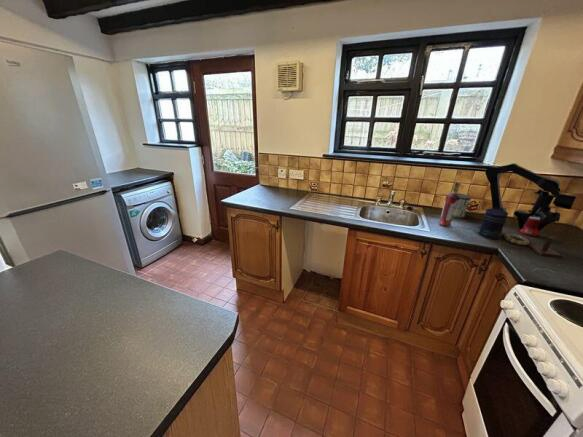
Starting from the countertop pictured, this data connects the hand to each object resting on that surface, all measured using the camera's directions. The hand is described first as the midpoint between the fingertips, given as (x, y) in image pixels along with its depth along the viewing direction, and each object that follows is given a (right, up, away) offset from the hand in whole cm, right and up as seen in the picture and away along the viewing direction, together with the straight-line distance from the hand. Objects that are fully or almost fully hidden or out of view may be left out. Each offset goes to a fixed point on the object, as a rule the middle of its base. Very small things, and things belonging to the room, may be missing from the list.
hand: (529, 229), depth 133 cm
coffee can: (-16, +9, +37) cm, 41 cm away
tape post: (+1, -11, -6) cm, 13 cm away
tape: (-4, -5, +3) cm, 8 cm away
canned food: (+12, -3, +13) cm, 18 cm away
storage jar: (-16, -4, +8) cm, 18 cm away
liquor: (-34, +2, +20) cm, 40 cm away
